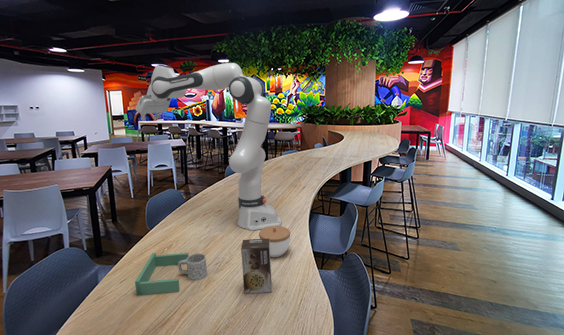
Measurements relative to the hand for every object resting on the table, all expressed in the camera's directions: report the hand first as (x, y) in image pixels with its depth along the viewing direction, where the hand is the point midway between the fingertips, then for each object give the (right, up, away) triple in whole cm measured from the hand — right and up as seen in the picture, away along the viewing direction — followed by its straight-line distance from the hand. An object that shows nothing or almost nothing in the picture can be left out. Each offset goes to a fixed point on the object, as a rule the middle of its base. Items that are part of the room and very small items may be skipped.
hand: (149, 119), depth 155 cm
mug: (+38, -64, -49) cm, 89 cm away
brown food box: (+62, -66, -57) cm, 107 cm away
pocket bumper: (+29, -65, -50) cm, 87 cm away
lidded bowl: (+67, -61, -35) cm, 97 cm away
